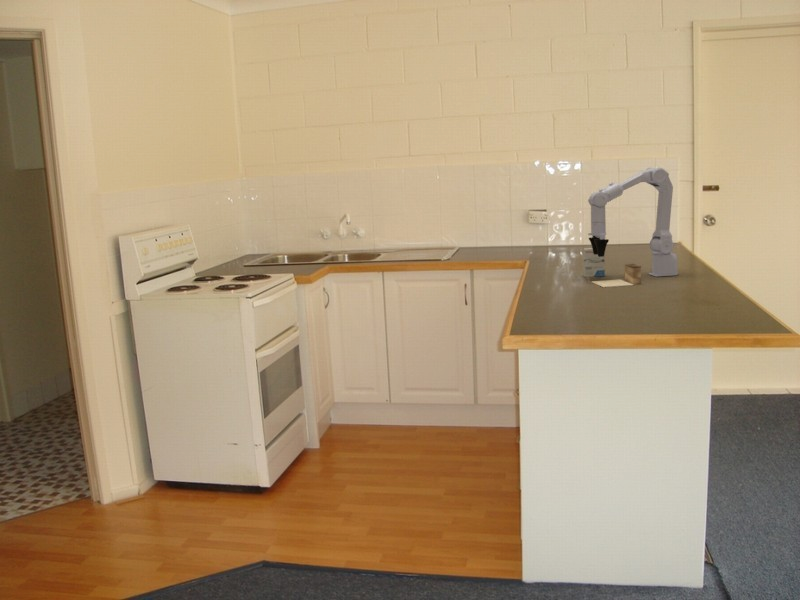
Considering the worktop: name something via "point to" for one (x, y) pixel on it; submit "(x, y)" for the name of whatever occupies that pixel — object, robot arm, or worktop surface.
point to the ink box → (593, 264)
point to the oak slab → (633, 273)
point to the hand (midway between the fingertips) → (598, 255)
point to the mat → (612, 283)
